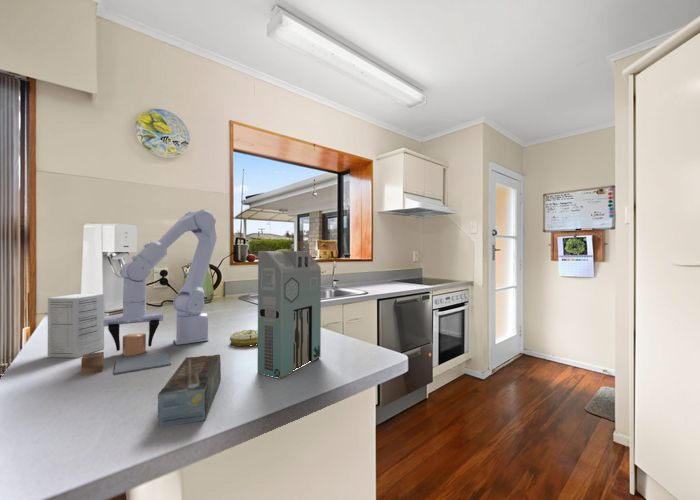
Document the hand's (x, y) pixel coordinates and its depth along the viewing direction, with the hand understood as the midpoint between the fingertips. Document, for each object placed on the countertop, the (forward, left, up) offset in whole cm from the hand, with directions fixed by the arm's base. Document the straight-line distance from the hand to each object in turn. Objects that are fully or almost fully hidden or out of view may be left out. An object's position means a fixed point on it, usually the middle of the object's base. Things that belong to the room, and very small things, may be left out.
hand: (134, 347), depth 94 cm
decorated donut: (-31, +8, -2) cm, 32 cm away
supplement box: (+14, -9, -2) cm, 17 cm away
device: (-34, +36, -2) cm, 50 cm away
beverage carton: (-10, +43, -2) cm, 44 cm away
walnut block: (+8, +12, -2) cm, 15 cm away
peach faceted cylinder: (0, 0, -1) cm, 1 cm away
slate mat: (-2, +12, -1) cm, 12 cm away
